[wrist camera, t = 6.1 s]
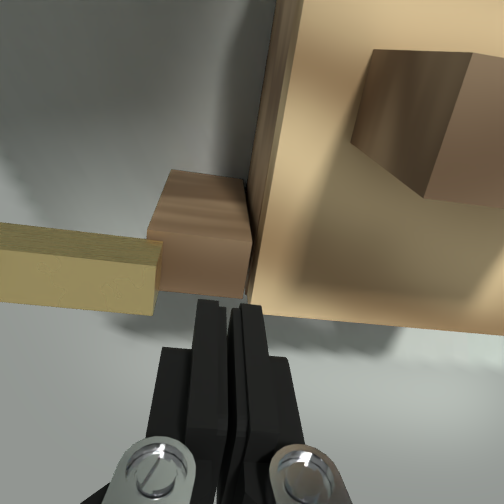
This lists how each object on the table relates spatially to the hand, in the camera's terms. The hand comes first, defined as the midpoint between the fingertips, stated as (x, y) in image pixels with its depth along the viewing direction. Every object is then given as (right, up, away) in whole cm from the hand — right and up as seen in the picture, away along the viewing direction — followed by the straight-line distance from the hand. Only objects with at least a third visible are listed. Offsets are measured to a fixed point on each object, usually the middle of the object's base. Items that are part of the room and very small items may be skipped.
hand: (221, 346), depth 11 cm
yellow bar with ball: (-6, +2, +5) cm, 8 cm away
